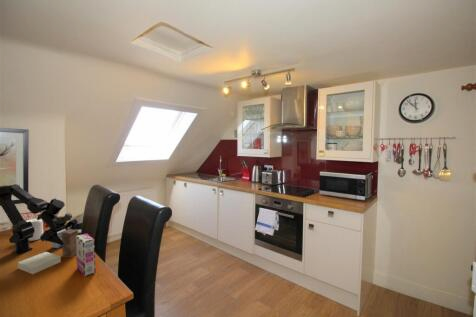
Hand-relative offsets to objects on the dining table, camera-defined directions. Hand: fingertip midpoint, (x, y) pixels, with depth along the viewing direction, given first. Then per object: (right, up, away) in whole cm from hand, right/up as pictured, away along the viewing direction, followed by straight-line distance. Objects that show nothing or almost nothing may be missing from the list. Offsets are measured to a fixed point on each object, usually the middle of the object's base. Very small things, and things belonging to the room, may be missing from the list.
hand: (70, 240), depth 127 cm
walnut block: (0, -8, +1) cm, 8 cm away
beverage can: (-36, -6, +20) cm, 42 cm away
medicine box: (-14, -7, +12) cm, 20 cm away
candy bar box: (+18, -9, -14) cm, 25 cm away
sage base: (-8, -8, -10) cm, 15 cm away
